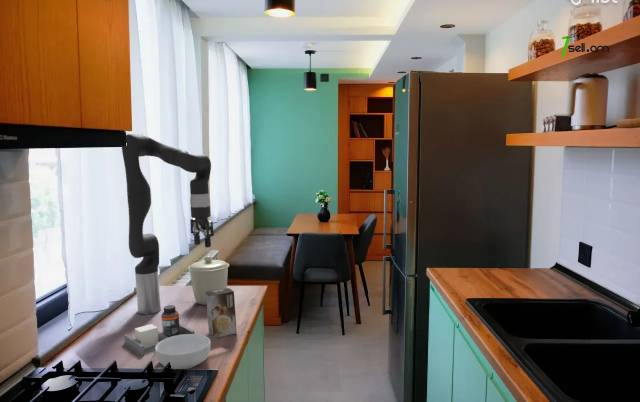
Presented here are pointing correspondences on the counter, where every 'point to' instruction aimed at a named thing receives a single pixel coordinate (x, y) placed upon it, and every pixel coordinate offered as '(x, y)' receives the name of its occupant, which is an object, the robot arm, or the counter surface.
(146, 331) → the off-white block
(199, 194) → the robot arm
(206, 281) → the canister
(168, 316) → the supplement bottle
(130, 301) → the counter surface
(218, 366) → the counter surface
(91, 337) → the counter surface
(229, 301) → the coffee box
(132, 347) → the slot rack
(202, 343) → the cereal bowl
